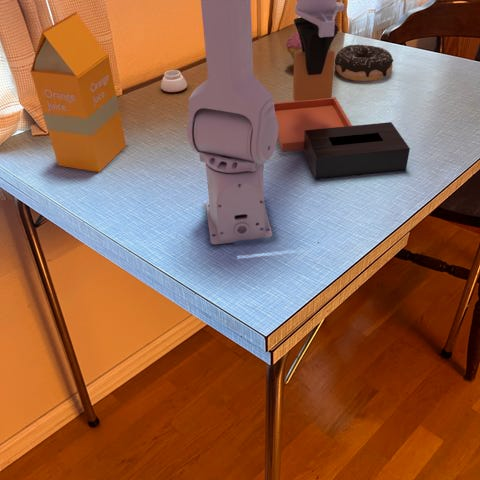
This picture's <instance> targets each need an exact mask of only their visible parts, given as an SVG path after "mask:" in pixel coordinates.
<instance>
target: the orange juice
mask: <svg viewBox="0 0 480 480" xmlns="http://www.w3.org/2000/svg"><path fill="white" fill-rule="evenodd" d="M111 67H112V66H111V63H110V57H109V53H107V51H106V50H105V49H104V47H103V46H102V45H101V43H100V42H99V41H98V39H97V38H96V36H95V35H94V34H93V33H92V31H91V30H90V28H89V27H88V26H87V25H86V23H85V22H84V20H83V19H82V18H81V16H80V15H79V14H78V11H74V12H73V13H72V14H70V15H67V16H66V17H64V18H63V19H61V20H59V21H57V22H56V23H54V24H52V25H51V26H49V27H46V28H45V29H43V30H41V34H40V38H39V41H38V45H37V47H36V52H35V55H34V58H33V61H32V65H31V69H30V73H31V79H32V82H33V84H34V88H35V91H36V95H37V98H38V101H39V105H40V108H41V112H42V116H43V120H44V123H45V126H46V130H47V132H48V136H49V139H50V142H51V145H52V148H53V152H54V155H55V159H56V162H57V165H58V166H59V167H66V168H72V169H77V170H84V171H91V172H96V173H97V172H98V173H101V171H103V170H104V169H105V167H107V165H108V164H110V162H112V161H113V159H115V158H116V157H117V156H118V155H119V154H120V153H121V152H122V151H123V150H124V149H125V148H126V147H127V143H126V137H125V134H124V128H123V122H122V118H121V114H120V106H119V101H118V96H117V95H118V94H117V92H116V88H115V83H114V78H113V71H112V68H111Z"/></svg>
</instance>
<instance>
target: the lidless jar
mask: <svg viewBox="0 0 480 480" xmlns="http://www.w3.org/2000/svg"><path fill="white" fill-rule="evenodd" d="M187 87H188V83H187V81H186V78H185V77H184V76H183V74H182V73H181V71H180V70H177V69H171V70H170V69H169V70H167V71H165V72H164V75H163V76H162V79H161V83H160V89H161V90H162V91H163V92H167V93H178V92H182V91H184V90H185V89H186V88H187Z"/></svg>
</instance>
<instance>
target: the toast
mask: <svg viewBox="0 0 480 480" xmlns="http://www.w3.org/2000/svg"><path fill="white" fill-rule="evenodd" d="M335 53H336V52H335V51H334V49H333V48H332V49H330V50H328V53H327V56H326V60H325V64H324V68H323V71H322V73H321V74H317V75H308V72H307V68H306V59H305V52H297V53H294V61H293V86H292V87H293V88H292V99H293V101H304V100H315V99H326V98H332V97H333V83H334V82H333V81H334V69H335V57H336V55H335Z"/></svg>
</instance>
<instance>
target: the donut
mask: <svg viewBox="0 0 480 480" xmlns="http://www.w3.org/2000/svg"><path fill="white" fill-rule="evenodd" d="M393 62H394V59H393V56H392V54H391V53H390V51H389V50H387V49H385V48H384V47H381V46H375V45H367V44H365V45H364V44H349V45H346V46H343V47H342V48H341V49H339V51H337V53H336V55H335V57H334V69H335V70H336V72H337V73H338V74H339V75H340V76H341V77H343V78H344V79H347V80H349V81H356V82H373V81H379V80H382V79H384V78H386V77H388V76H389V75H390V74H391V73H392V70H393Z"/></svg>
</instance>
